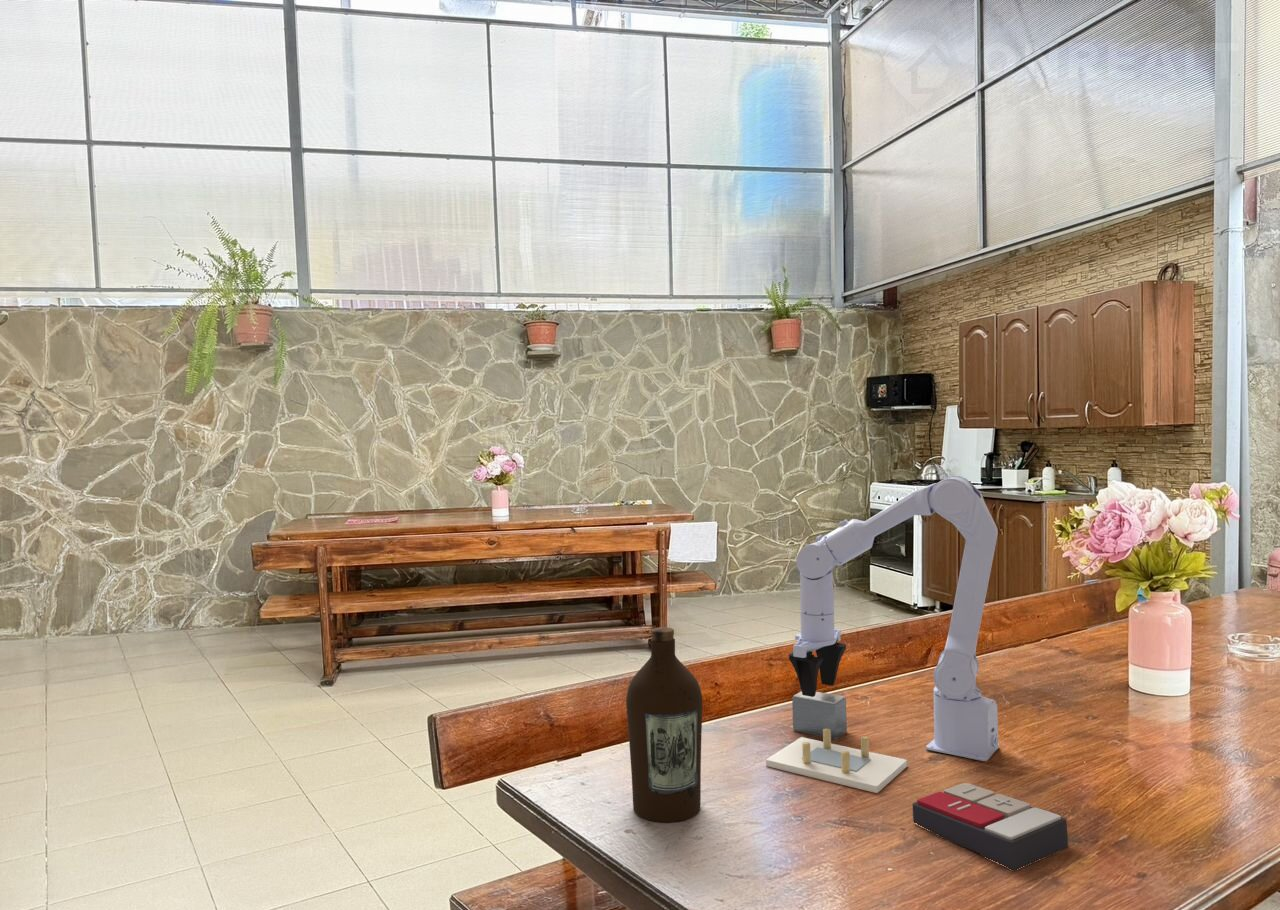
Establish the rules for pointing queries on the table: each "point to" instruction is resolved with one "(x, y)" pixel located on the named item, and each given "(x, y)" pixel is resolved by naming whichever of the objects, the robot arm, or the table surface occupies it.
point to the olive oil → (665, 734)
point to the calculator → (992, 824)
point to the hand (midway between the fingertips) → (818, 689)
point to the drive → (819, 714)
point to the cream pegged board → (838, 763)
